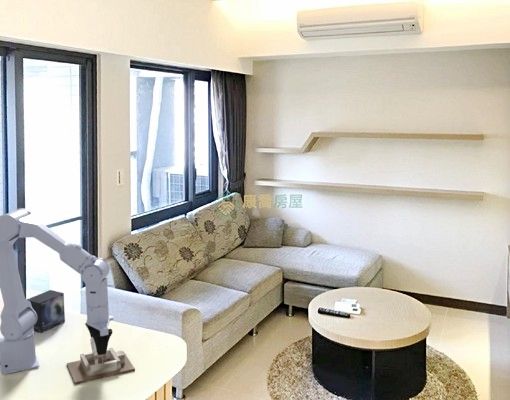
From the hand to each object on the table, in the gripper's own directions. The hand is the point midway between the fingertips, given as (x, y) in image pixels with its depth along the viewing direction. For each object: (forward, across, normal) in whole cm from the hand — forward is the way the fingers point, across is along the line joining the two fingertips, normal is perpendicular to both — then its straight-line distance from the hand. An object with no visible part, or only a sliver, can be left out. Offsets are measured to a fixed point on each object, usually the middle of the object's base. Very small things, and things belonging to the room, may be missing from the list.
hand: (99, 350), depth 152 cm
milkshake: (+5, 0, 0) cm, 5 cm away
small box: (+6, +37, +9) cm, 38 cm away
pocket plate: (+5, 0, 0) cm, 5 cm away
